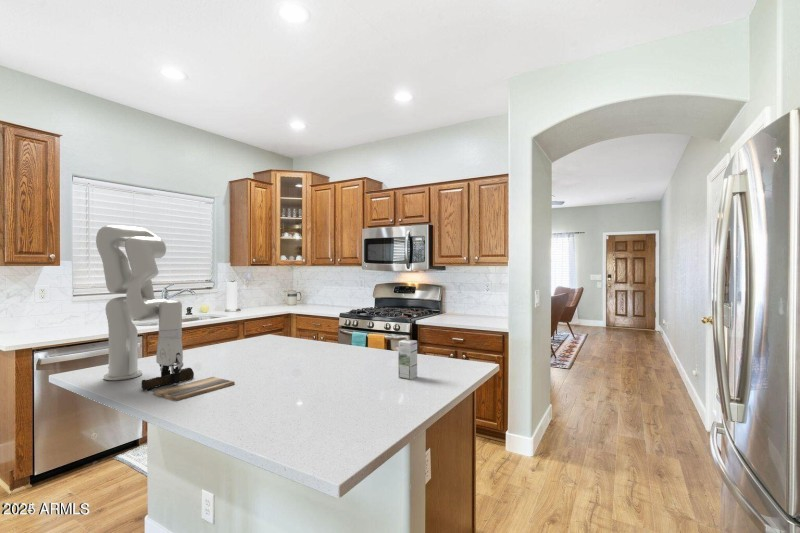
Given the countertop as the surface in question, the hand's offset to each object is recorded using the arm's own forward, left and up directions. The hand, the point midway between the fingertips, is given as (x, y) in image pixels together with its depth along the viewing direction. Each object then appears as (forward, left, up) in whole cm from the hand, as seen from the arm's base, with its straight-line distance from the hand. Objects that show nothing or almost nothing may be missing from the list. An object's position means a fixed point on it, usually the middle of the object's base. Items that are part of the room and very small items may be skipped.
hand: (170, 382), depth 152 cm
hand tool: (-1, 0, -1) cm, 1 cm away
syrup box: (+71, +54, -1) cm, 89 cm away
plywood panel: (+14, +1, -1) cm, 15 cm away
